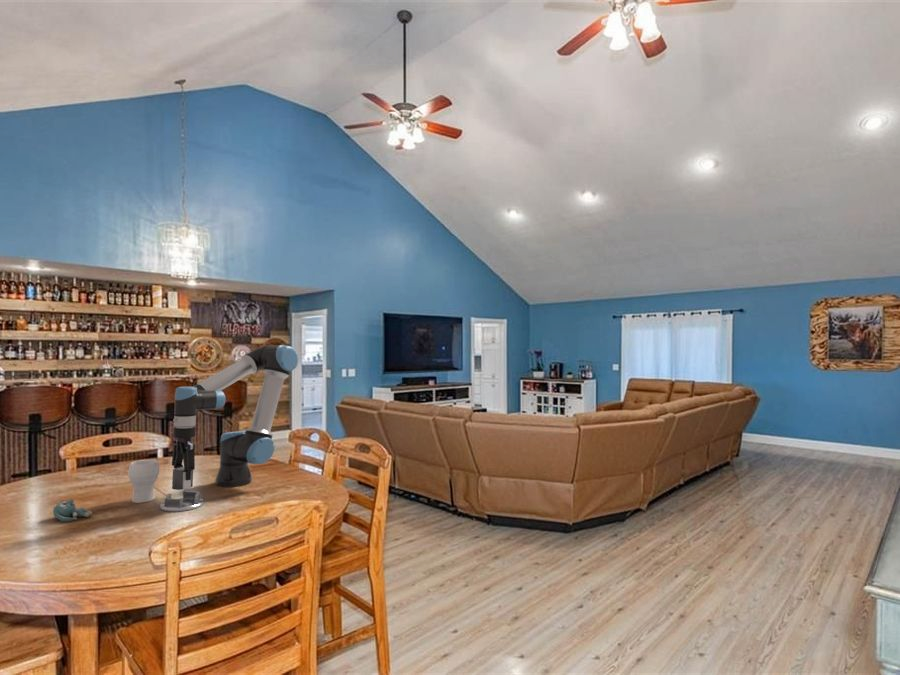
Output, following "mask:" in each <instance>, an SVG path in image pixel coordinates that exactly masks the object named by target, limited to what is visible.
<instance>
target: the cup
mask: <svg viewBox="0 0 900 675" xmlns="http://www.w3.org/2000/svg"><path fill="white" fill-rule="evenodd" d="M159 475H160V465H159V461H158V460H157V459H142V460H140V459H139V460H136V461H132V462H130V463H129V467H128V474H127V476H128V479H129V482H130V483H131V485H132V488H133V489H132V490H133V493H132V497H131V502H132V503H137V504H138V503H139V504H140V503H146V502H151V501H154V500H155V493H154V492H155V491H154V486H155V482H156V481H157V479H158V478H159Z"/></svg>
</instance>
